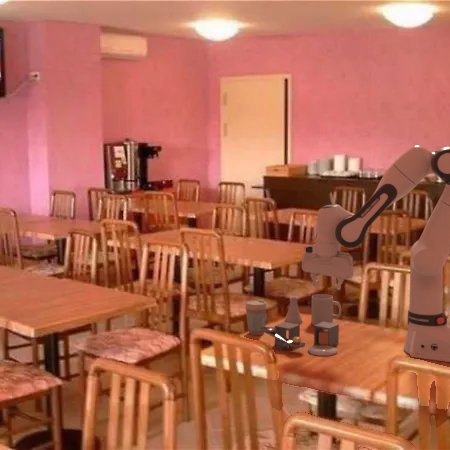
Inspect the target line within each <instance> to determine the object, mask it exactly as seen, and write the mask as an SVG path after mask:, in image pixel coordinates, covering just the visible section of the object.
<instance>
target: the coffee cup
mask: <svg viewBox="0 0 450 450" xmlns="http://www.w3.org/2000/svg"><path fill="white" fill-rule="evenodd" d="M244 308H245V312H246V313H245V314H246V321H247V329H248V334H249V335H252V336H262V335H264V334H265V333H264V332H261V331H260V328H262V327H266V320H267V310H268V308H269V307H268V304H267V302H266V301H265V300H259V299H258V300H257V299H256V300H255V299H254V300H248V301H246V303H245V307H244Z"/></svg>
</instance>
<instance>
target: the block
mask: <svg viewBox="0 0 450 450" xmlns="http://www.w3.org/2000/svg"><path fill="white" fill-rule="evenodd" d="M318 345H328V329H325V330H322V331H320V332H319V343H318Z"/></svg>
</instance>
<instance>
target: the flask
mask: <svg viewBox="0 0 450 450" xmlns="http://www.w3.org/2000/svg"><path fill="white" fill-rule="evenodd" d="M289 301H290V302H289V308H288V311H287V313H286V315H285V319H284V322H288V323H293V324H298V325H300V324H301V323H303V319H302V316H301V314H300V310H299V307H298V296H297V297H295V296H291V297H289Z"/></svg>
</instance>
